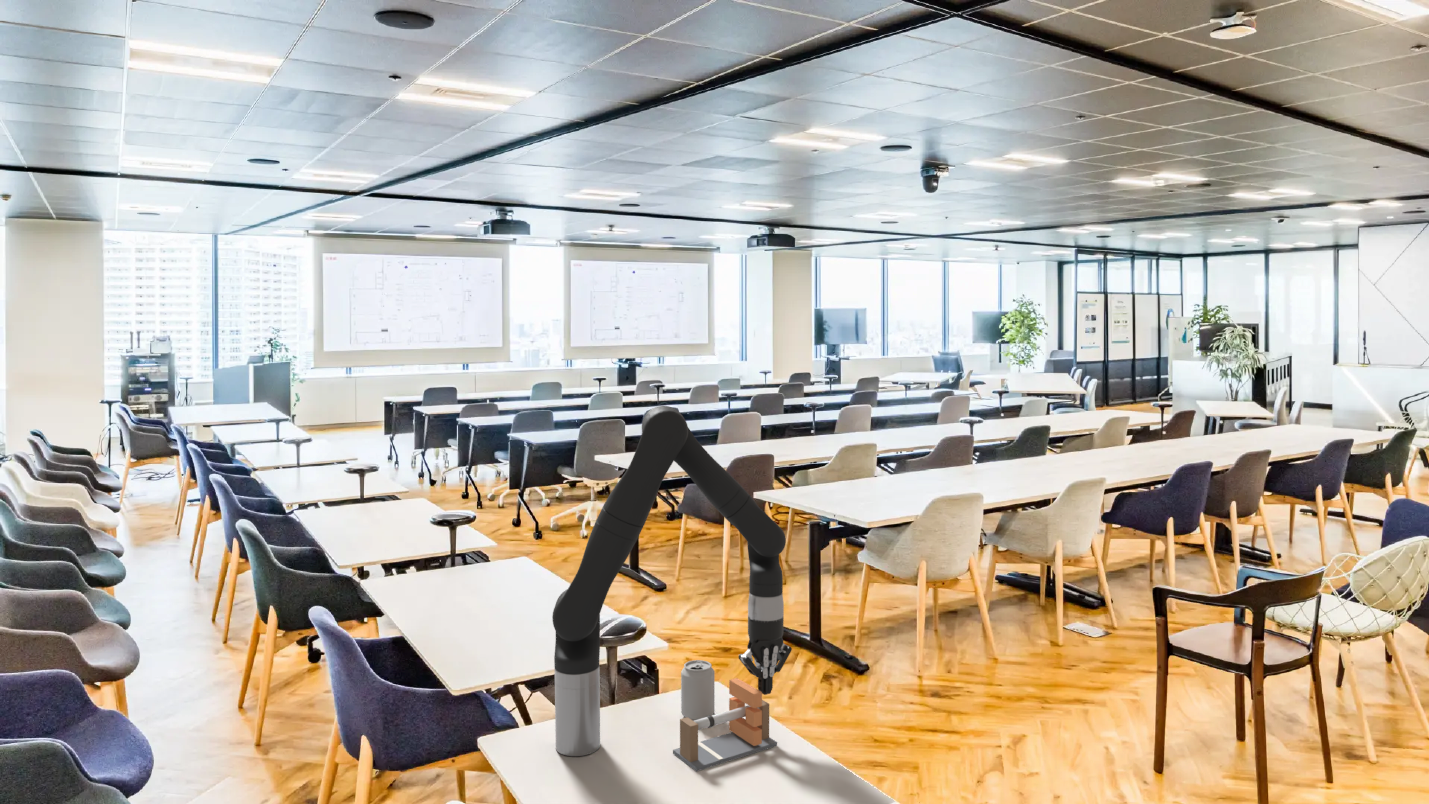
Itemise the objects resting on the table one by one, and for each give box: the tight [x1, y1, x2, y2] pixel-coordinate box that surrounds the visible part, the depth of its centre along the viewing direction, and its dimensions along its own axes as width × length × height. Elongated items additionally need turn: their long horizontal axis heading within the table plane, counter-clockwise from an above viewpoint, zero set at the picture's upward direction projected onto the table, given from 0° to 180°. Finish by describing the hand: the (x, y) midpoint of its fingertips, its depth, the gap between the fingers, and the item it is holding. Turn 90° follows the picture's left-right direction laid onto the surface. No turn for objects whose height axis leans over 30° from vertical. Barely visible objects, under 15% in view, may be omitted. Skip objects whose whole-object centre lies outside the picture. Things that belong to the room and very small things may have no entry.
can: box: [680, 659, 715, 721], centre depth 205 cm, size 8×8×12 cm
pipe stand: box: [672, 699, 778, 772], centre depth 188 cm, size 20×9×8 cm, turn 123°
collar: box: [728, 677, 763, 746], centre depth 191 cm, size 2×9×11 cm, turn 33°
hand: (765, 693), depth 194 cm, fingers closed
